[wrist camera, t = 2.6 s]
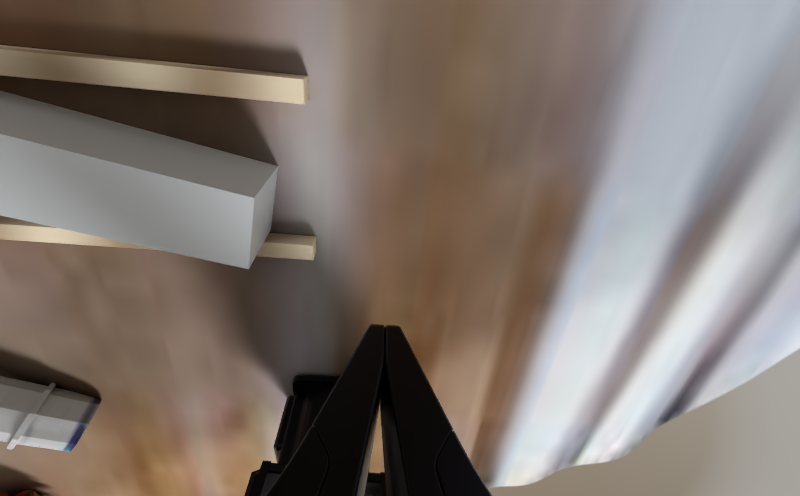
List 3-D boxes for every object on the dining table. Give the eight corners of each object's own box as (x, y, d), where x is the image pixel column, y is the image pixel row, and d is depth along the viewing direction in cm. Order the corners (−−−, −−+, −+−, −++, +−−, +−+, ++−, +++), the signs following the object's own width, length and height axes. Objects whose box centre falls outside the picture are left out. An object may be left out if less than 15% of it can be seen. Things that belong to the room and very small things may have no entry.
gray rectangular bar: (279, 163, 18) (253, 198, 15) (272, 227, 20) (247, 271, 17) (-91, 62, 15) (-231, 76, 12) (-53, 150, 17) (-162, 183, 14)
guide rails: (308, 75, 16) (303, 79, 15) (316, 250, 21) (313, 260, 20) (-160, 28, 14) (-194, 29, 13) (-24, 226, 20) (-43, 236, 19)
